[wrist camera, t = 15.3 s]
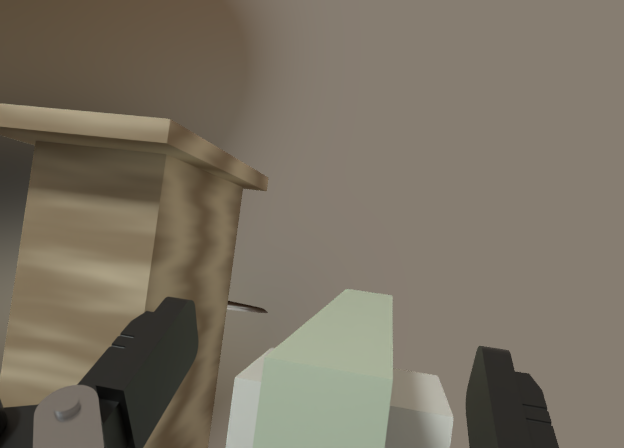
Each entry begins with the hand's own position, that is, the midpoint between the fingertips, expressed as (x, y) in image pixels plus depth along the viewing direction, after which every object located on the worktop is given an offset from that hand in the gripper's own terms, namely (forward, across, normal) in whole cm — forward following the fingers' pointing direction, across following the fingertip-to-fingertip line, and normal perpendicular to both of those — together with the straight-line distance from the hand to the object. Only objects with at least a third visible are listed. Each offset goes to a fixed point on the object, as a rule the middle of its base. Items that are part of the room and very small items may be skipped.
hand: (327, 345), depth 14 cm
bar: (+8, 0, +9) cm, 12 cm away
